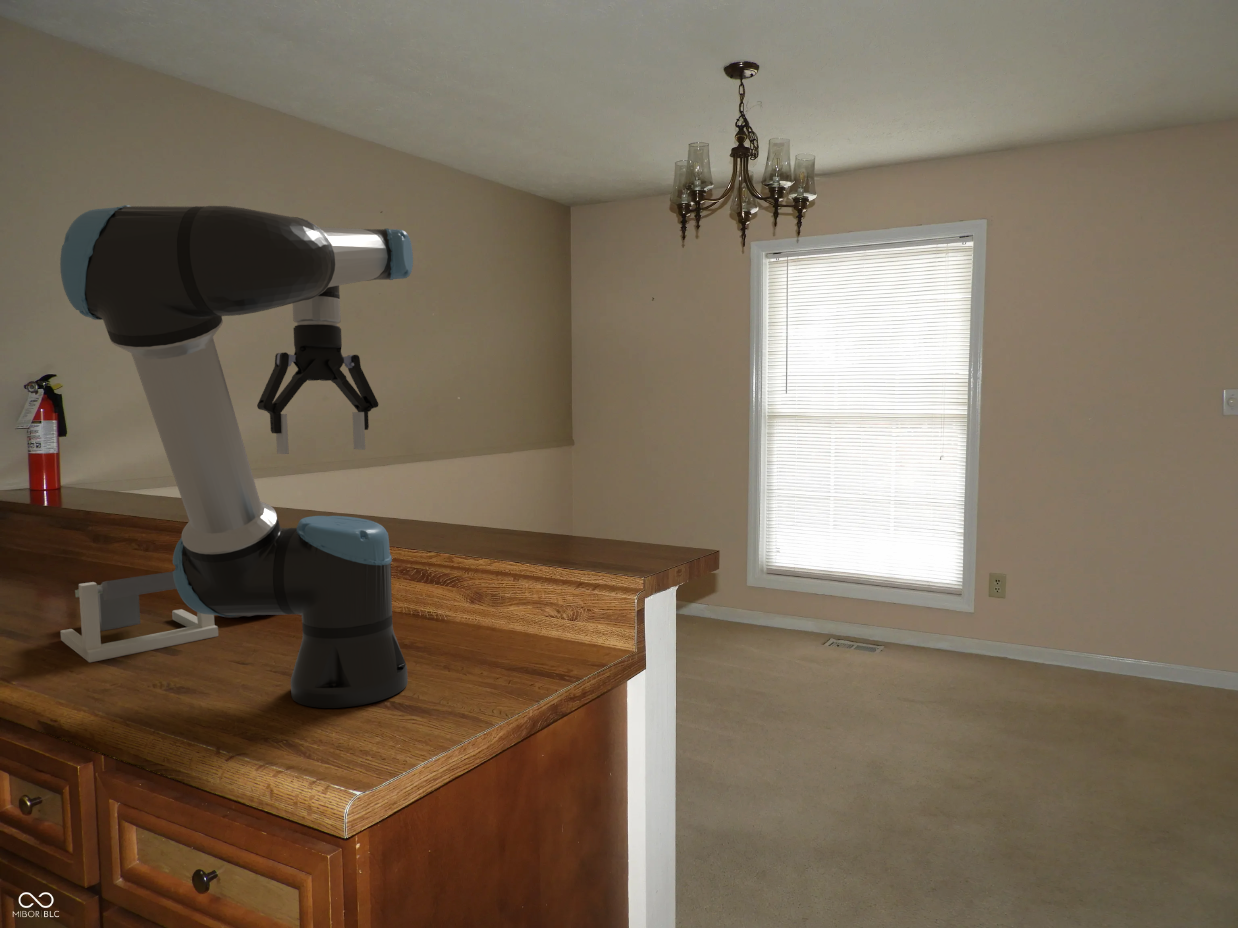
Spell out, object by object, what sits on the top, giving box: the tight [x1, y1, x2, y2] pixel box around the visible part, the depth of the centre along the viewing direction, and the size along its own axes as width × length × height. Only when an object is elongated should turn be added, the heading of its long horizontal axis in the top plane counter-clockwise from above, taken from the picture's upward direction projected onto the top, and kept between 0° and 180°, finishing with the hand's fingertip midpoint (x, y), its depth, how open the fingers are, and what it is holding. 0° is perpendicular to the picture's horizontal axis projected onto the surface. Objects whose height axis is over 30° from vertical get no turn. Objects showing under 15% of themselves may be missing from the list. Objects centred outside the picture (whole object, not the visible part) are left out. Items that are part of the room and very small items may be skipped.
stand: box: [60, 581, 219, 663], centre depth 138 cm, size 18×19×12 cm
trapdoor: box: [74, 571, 177, 600], centre depth 137 cm, size 18×14×3 cm
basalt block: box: [98, 593, 141, 632], centre depth 147 cm, size 6×6×7 cm
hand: (322, 451), depth 140 cm, fingers open, 13 cm apart
